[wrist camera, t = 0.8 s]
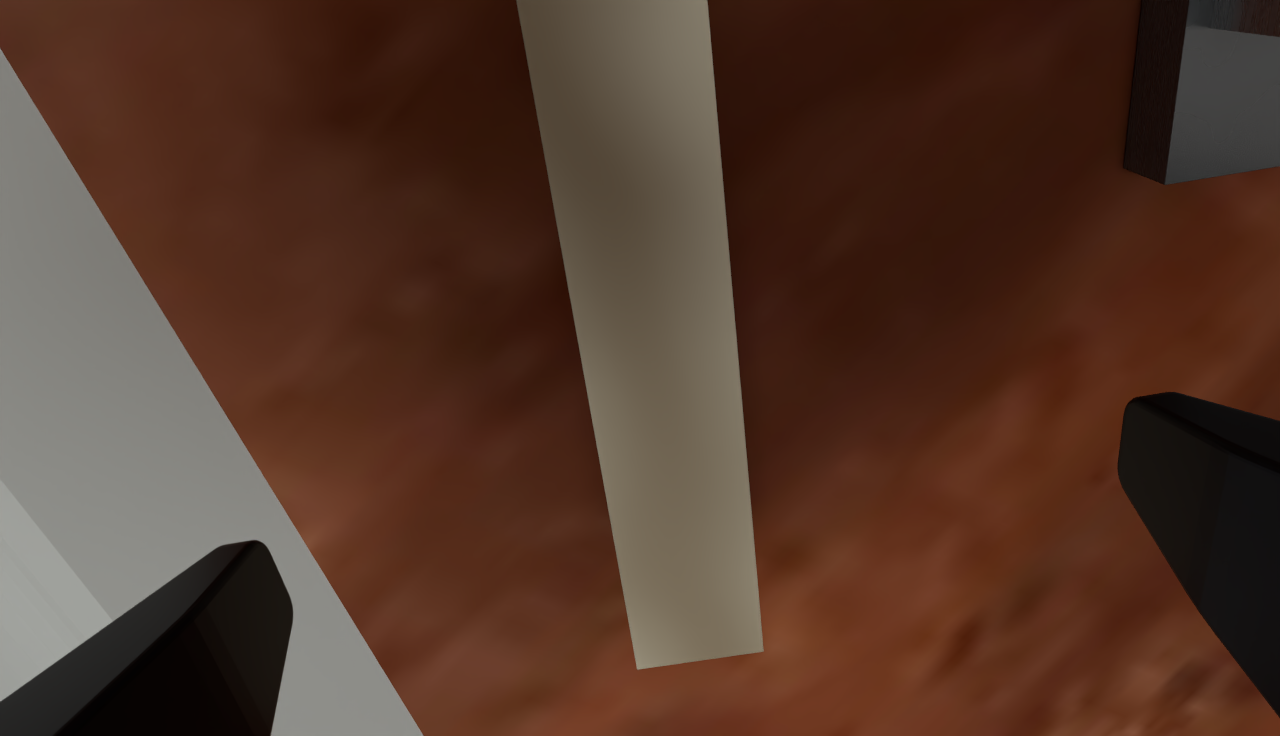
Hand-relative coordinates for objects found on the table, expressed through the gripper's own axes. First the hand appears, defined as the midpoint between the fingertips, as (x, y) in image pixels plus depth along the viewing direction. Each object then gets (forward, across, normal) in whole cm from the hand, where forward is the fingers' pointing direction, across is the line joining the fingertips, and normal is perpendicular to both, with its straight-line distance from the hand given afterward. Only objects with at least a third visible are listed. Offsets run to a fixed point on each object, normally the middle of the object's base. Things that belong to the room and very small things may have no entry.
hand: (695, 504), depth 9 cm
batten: (+11, 0, 0) cm, 11 cm away
